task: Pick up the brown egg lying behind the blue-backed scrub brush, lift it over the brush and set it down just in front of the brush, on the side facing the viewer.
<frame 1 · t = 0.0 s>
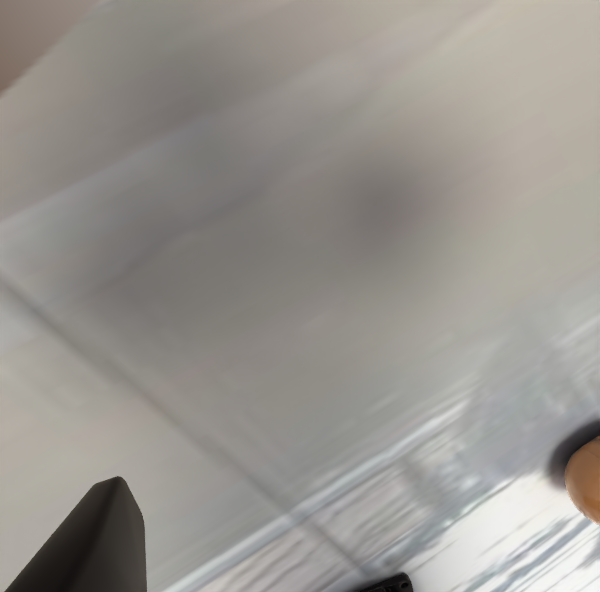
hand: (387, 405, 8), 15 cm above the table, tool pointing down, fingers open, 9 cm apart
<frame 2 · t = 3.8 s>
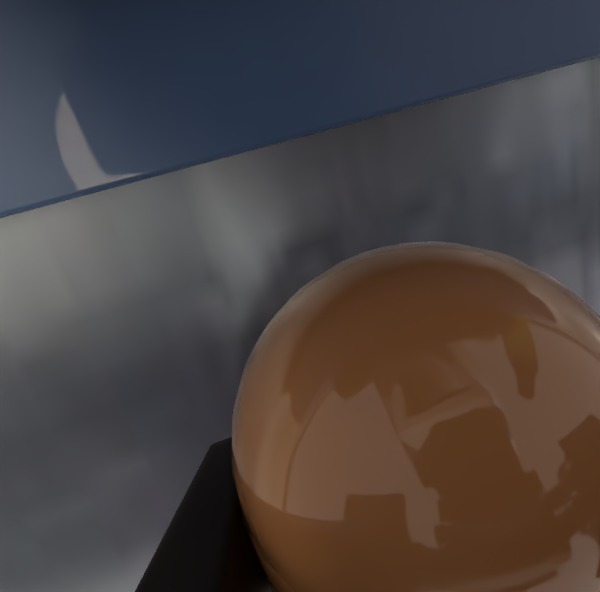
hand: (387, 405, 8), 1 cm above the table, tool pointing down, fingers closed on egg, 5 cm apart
egg: (429, 467, 7), point 3 cm above the table, touching gripper
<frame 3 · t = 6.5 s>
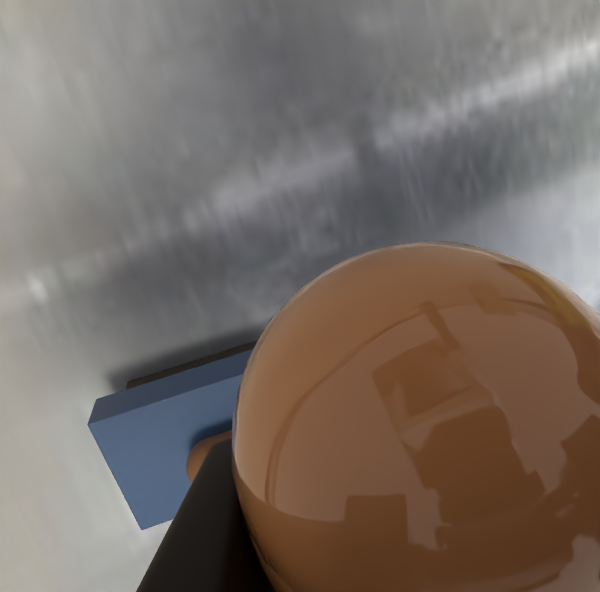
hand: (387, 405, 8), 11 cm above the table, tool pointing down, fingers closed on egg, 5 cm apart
brush: (310, 369, 20), on the table
egg: (430, 468, 6), point 12 cm above the table, touching gripper
when the fingers open (1 cm above the table, at t = 9.3 s): egg stays where it is, point 3 cm above the table.
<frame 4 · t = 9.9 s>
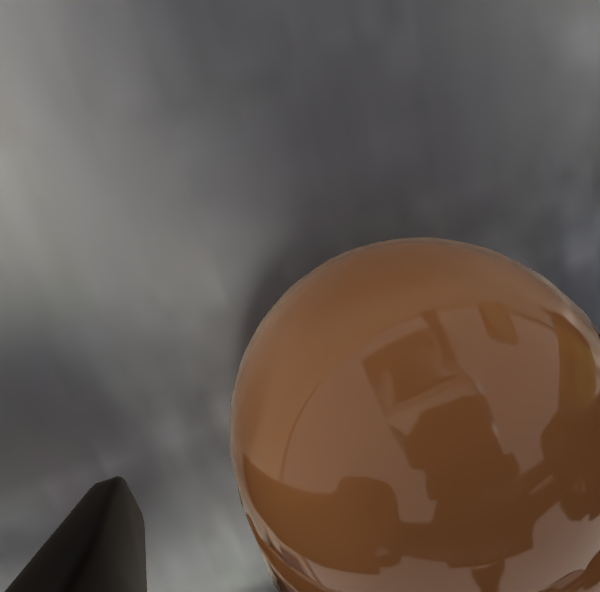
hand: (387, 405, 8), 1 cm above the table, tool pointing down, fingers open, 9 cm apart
egg: (419, 454, 7), point 3 cm above the table
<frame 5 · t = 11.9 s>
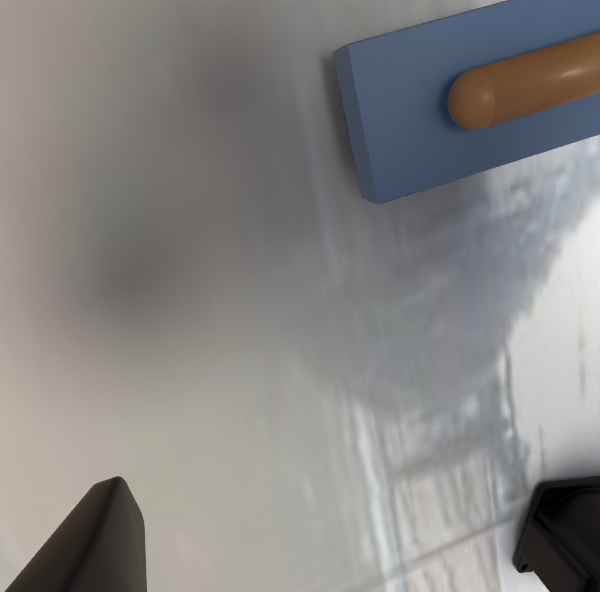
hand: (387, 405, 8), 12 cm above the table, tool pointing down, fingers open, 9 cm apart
brush: (523, 73, 18), on the table
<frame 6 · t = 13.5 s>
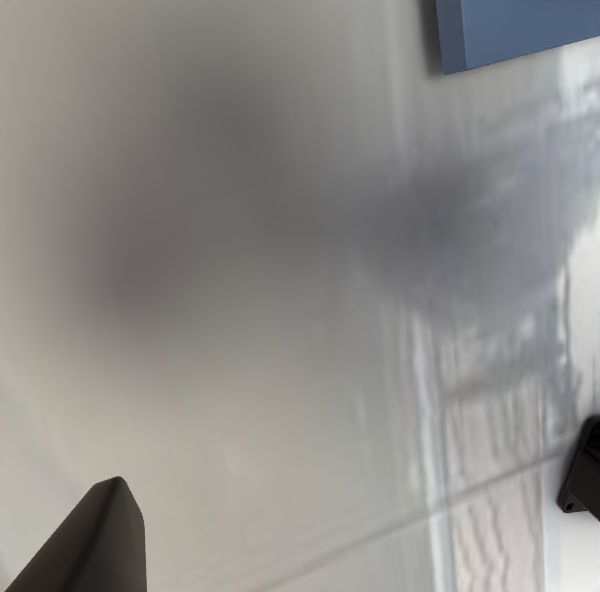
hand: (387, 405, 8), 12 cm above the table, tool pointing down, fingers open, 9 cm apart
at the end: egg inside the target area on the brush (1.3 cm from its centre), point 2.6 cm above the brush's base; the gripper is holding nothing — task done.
